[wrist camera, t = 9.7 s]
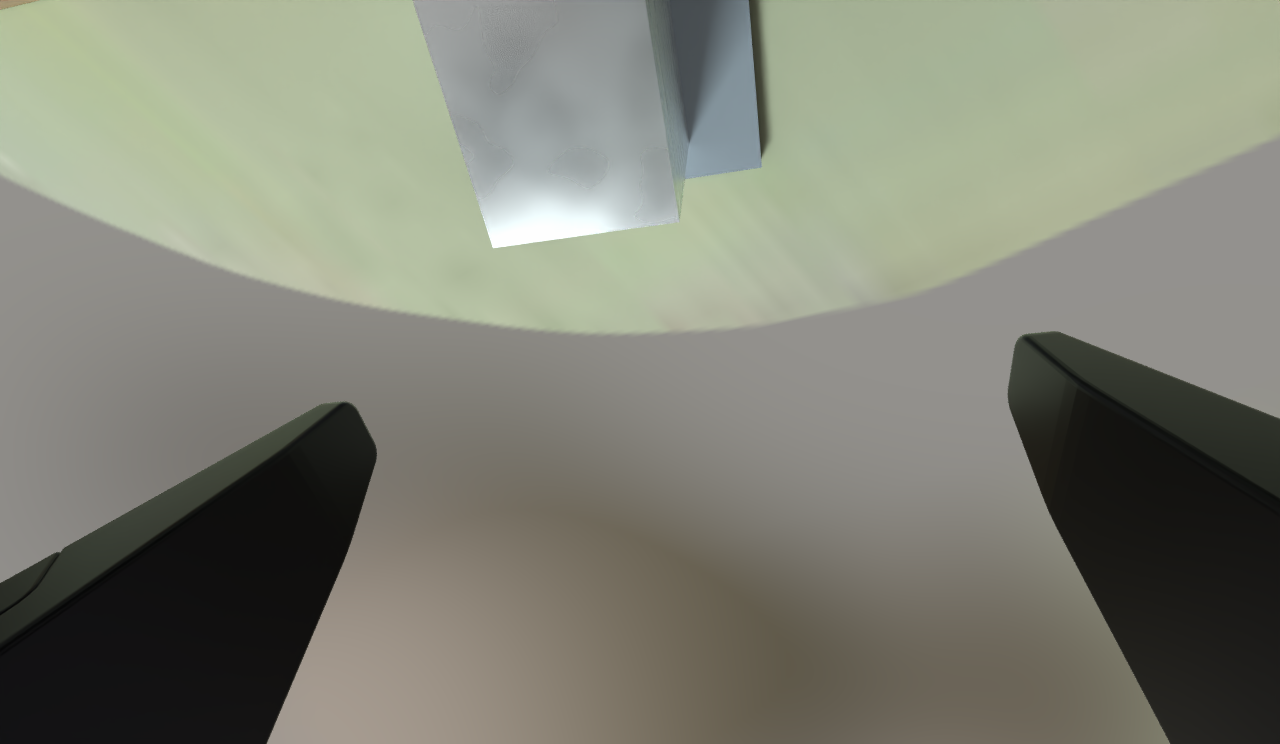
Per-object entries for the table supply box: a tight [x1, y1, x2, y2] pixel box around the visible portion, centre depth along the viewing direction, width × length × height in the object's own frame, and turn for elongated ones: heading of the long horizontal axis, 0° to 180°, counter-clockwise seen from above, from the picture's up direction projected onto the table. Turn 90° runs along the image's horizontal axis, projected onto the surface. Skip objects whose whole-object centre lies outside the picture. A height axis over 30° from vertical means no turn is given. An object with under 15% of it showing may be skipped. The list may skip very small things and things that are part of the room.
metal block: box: [413, 0, 689, 248], centre depth 14 cm, size 4×7×6 cm, turn 10°
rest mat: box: [670, 0, 762, 179], centre depth 17 cm, size 8×9×1 cm
